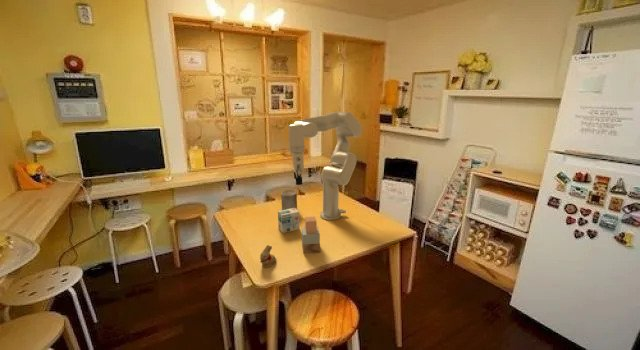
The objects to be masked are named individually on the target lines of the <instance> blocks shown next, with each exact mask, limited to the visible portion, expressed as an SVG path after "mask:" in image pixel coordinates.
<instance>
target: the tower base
mask: <svg viewBox="0 0 640 350" xmlns="http://www.w3.org/2000/svg"><path fill="white" fill-rule="evenodd" d="M301 245H302V253H303V254H319V253H320V252H321V243H320V244H303V241H302V240H301Z"/></svg>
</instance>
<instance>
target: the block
mask: <svg viewBox="0 0 640 350" xmlns="http://www.w3.org/2000/svg"><path fill="white" fill-rule="evenodd" d="M304 222H305V224H304V225H305V226H304V227H305V230H306V233H317V218H316V216H305V217H304Z"/></svg>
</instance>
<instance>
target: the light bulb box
mask: <svg viewBox="0 0 640 350" xmlns="http://www.w3.org/2000/svg"><path fill="white" fill-rule="evenodd" d="M277 220H278V221H277V222H278V229H279V231H280V232H281V233H282V234H284V233H288V232H290V233H291V232H294V231H297V230H300V211H299V210H298V208H297V209H296V208H291V209H286V210H282V209H281V210H278V211H277Z"/></svg>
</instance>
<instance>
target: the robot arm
mask: <svg viewBox="0 0 640 350" xmlns="http://www.w3.org/2000/svg"><path fill="white" fill-rule="evenodd" d="M334 128H335V133H336V139H337V142H336V145H335V148H334V149H333V152H332V154H331V157H330V164H331V165H327V166H324V167H323V168H322V169H321V175H320V176H321V180H322V211H321V212H320V214H319V215H320V218H321V219H323V220H327V221H335V220H338V219H340V218H341V215H342V214H347V210H345V209H344V208H341V209H340V208H339V200H340V199H339V197H340V196H339V194H340V191H339V190H340V189H339V185H340V186H346V185H347V184H348V183H349V182H350V180H351V177H352V176H353V173H354V170H355V168H356V165H357V156H356V154H355V153H353V152H350V150H351V142H350V139H349V137H351V138H358V137H361V135H362V133H363V126H362V123H360V122H359V120H358V119H357V117H356V116H354V114H353V113H351V112H348V111H333V112H330V113H327V114H324V115H319V116H318V115H317V116H313V117H307V118H303V119H299V120H296V121H294V123H292V124H290V125H288V141H289V142H288V143H289V144H288V145H289V146H288V147H289V148H288V149H289V153H290V154H291V158H292V160H291V161H292V168H293V179H295V185H296V186H300V185H301V186H302V185H303V175H302V173H304V172H305V165H304V162H305V161H304V153H305V152H306V151H305V139H307V138H308V139H311V138H314V137H316V136H317V135H318V134H319V132H327V131H329V130H332V129H334Z"/></svg>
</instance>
